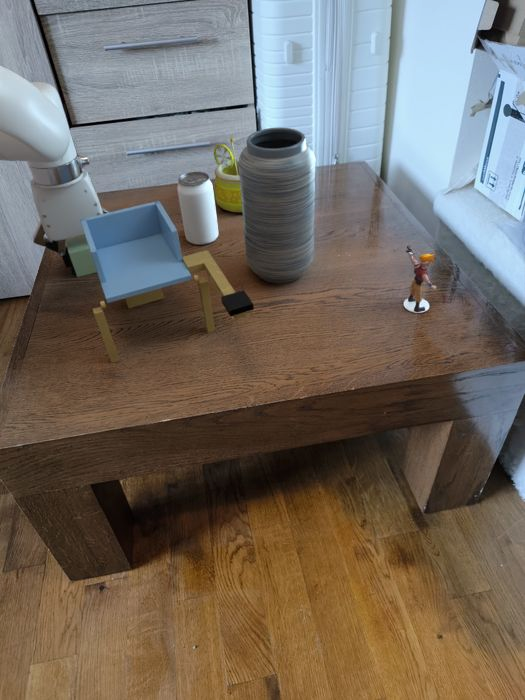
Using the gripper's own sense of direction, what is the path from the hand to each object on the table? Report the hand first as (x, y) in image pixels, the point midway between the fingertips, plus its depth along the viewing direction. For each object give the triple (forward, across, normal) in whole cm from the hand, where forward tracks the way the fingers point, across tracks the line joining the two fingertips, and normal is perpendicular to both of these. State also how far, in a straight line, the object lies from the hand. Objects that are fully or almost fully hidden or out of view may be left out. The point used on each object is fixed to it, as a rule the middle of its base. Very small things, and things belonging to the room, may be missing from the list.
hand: (88, 264), depth 94 cm
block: (0, 0, 0) cm, 0 cm away
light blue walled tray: (-10, -9, +26) cm, 29 cm away
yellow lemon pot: (+1, -34, -10) cm, 35 cm away
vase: (+1, -31, +17) cm, 35 cm away
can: (+1, -22, 0) cm, 22 cm away
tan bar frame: (0, -7, +20) cm, 21 cm away
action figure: (+1, -46, +35) cm, 58 cm away
